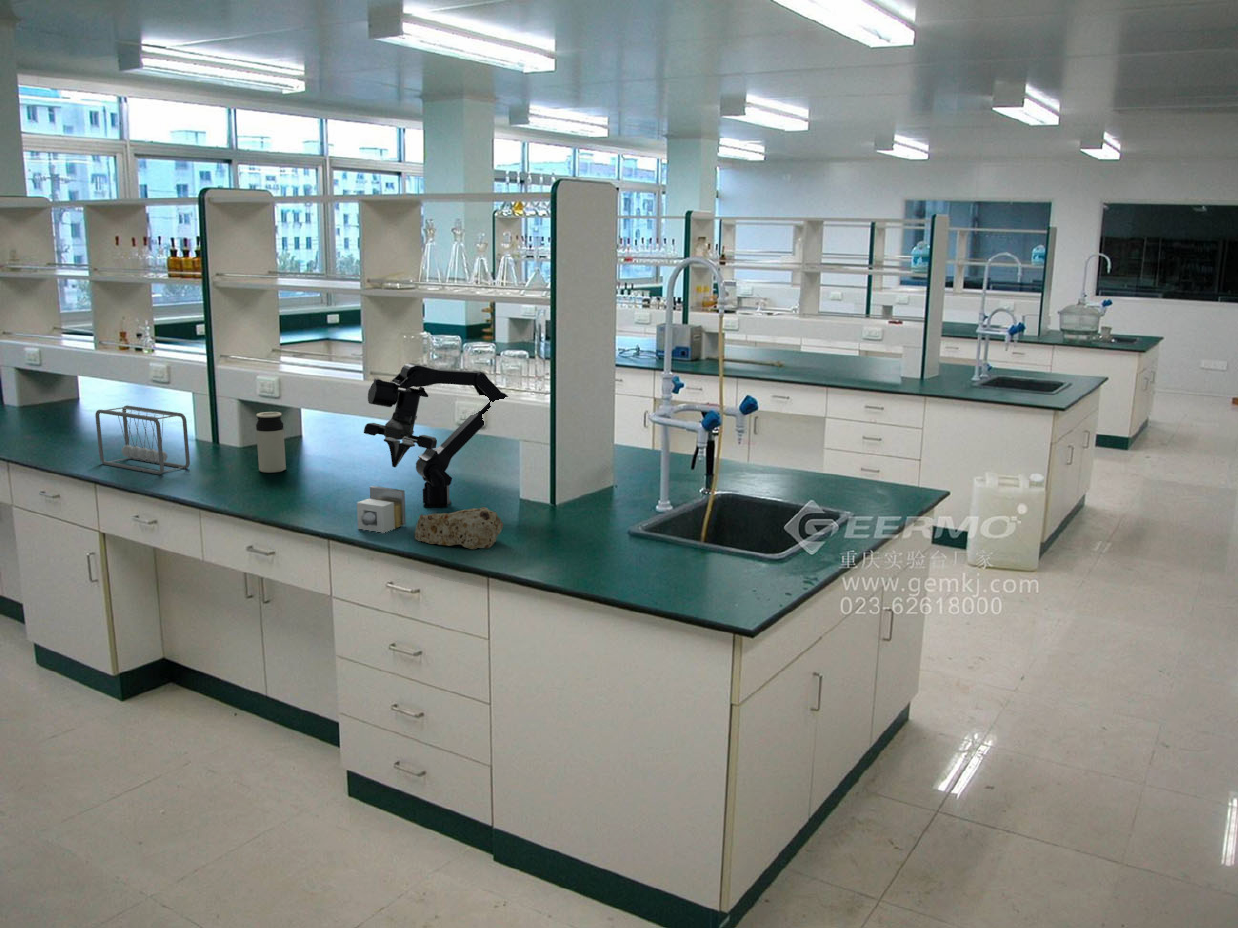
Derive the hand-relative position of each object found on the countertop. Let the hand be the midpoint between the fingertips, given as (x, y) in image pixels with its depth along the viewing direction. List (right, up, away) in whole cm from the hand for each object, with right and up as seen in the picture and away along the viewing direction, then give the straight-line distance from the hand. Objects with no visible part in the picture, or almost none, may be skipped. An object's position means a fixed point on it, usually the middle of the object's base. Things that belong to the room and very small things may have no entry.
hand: (394, 467), depth 268 cm
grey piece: (-1, -15, -15) cm, 21 cm away
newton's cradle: (-90, 0, +48) cm, 102 cm away
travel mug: (-48, -1, +45) cm, 66 cm away
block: (-1, -16, -15) cm, 22 cm away
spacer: (0, -15, -12) cm, 19 cm away
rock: (+21, -18, -23) cm, 36 cm away
